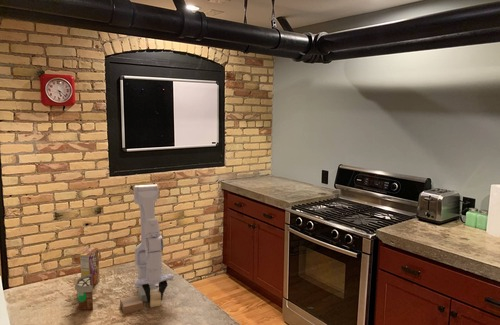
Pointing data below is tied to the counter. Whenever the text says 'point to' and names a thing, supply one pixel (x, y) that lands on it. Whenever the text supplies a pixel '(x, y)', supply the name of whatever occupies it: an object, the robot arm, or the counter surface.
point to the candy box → (90, 264)
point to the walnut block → (131, 304)
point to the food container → (85, 292)
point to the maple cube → (155, 298)
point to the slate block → (142, 292)
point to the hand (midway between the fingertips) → (154, 300)
